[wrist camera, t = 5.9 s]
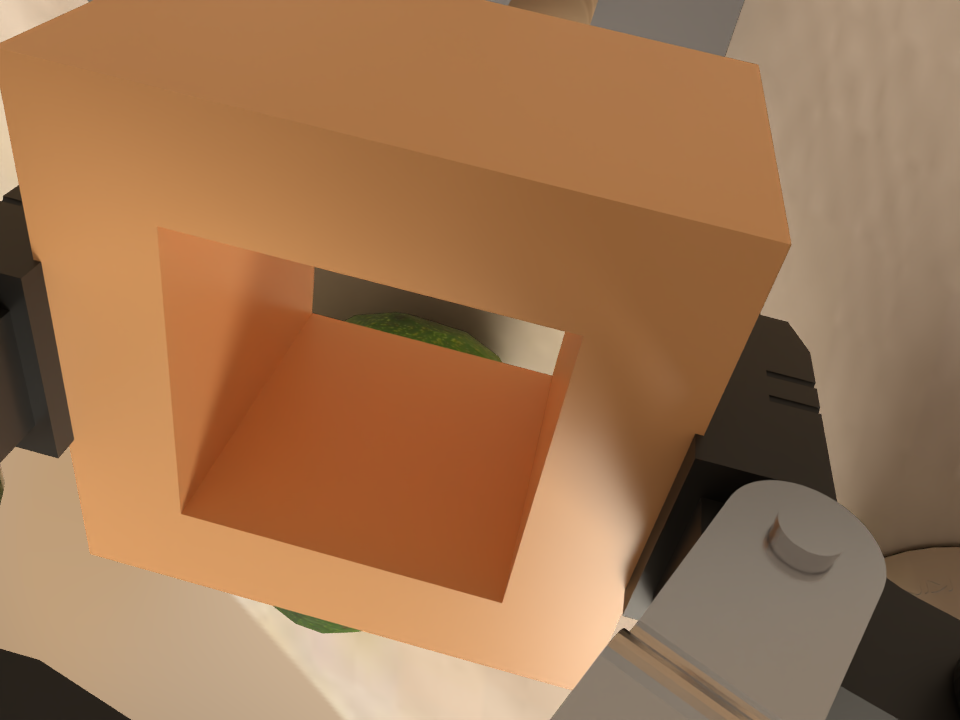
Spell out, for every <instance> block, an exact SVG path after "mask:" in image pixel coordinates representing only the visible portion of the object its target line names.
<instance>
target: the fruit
mask: <svg viewBox="0 0 960 720" xmlns="http://www.w3.org/2000/svg"><path fill="white" fill-rule="evenodd" d="M345 322H348V323H352V324H356V325H360V326H364V327H368V328H371V329H375V330H379V331H383V332H387V333H391V334H394V335H398V336H402V337H406V338H410V339H414V340H417V341H421V342H425V343H429V344H433V345H437V346H440V347H444V348H448V349H452V350H456V351H459V352H463V353H467V354H471V355H475V356H479V357H482V358H486V359H490V360H494V361H498V362H501V360H500V358H499V357H498V356H497V355H496V354H494V353H493V352H492V351H490V350H489V349H488V348H487V347H485V346H484V345H483V344H481V343H480V342H479V341H477V340H476V339H475V338H473V337H472V336H471V335H469V334H468V333H467V332H464V331H460V330H457V329H454V328H451V327H448V326H445V325H442V324H439V323H436V322H433V321H429V320H426V319H423V318H420V317H416V316H413V315H410V314H405V313H398V312H393V313H379V314H366V315H355V316H353V317H351V318H349V319H347V320H346V321H345ZM274 607H275V608H276V609H278V610H279V611H280V612H281V613H283V614H284V615H285V616H287V617H288V618H289V619H290V620H292V621H293V622H294V623H296V624H298V625H301V626H304V627H307V628H309V629H312V630H315V631H317V632H320V633H345V632H359V631H361V630H357V629H354V628H350V627H347V626H343V625H340V624H336V623H333V622H329V621H326V620H322V619H318V618H315V617H311V616H308V615H304V614H301V613H297V612H294V611H290V610H287V609H283V608H280V607H276V606H274Z"/></svg>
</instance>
